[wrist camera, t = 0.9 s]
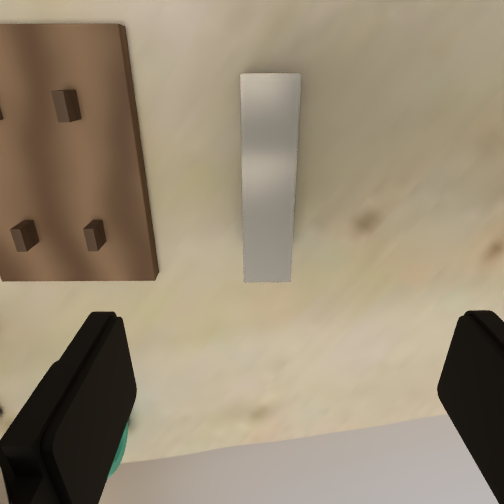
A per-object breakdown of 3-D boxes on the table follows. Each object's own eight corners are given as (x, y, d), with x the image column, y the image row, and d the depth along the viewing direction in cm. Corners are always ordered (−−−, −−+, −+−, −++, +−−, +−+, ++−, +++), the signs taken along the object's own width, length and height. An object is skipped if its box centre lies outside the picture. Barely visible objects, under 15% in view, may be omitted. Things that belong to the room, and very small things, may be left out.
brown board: (124, 26, 25) (107, 19, 22) (158, 272, 34) (149, 292, 31) (-74, 27, 25) (-120, 20, 22) (12, 273, 34) (-12, 293, 31)
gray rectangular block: (289, 73, 27) (301, 73, 21) (282, 242, 33) (290, 281, 27) (242, 73, 27) (240, 73, 21) (244, 242, 33) (243, 282, 27)
